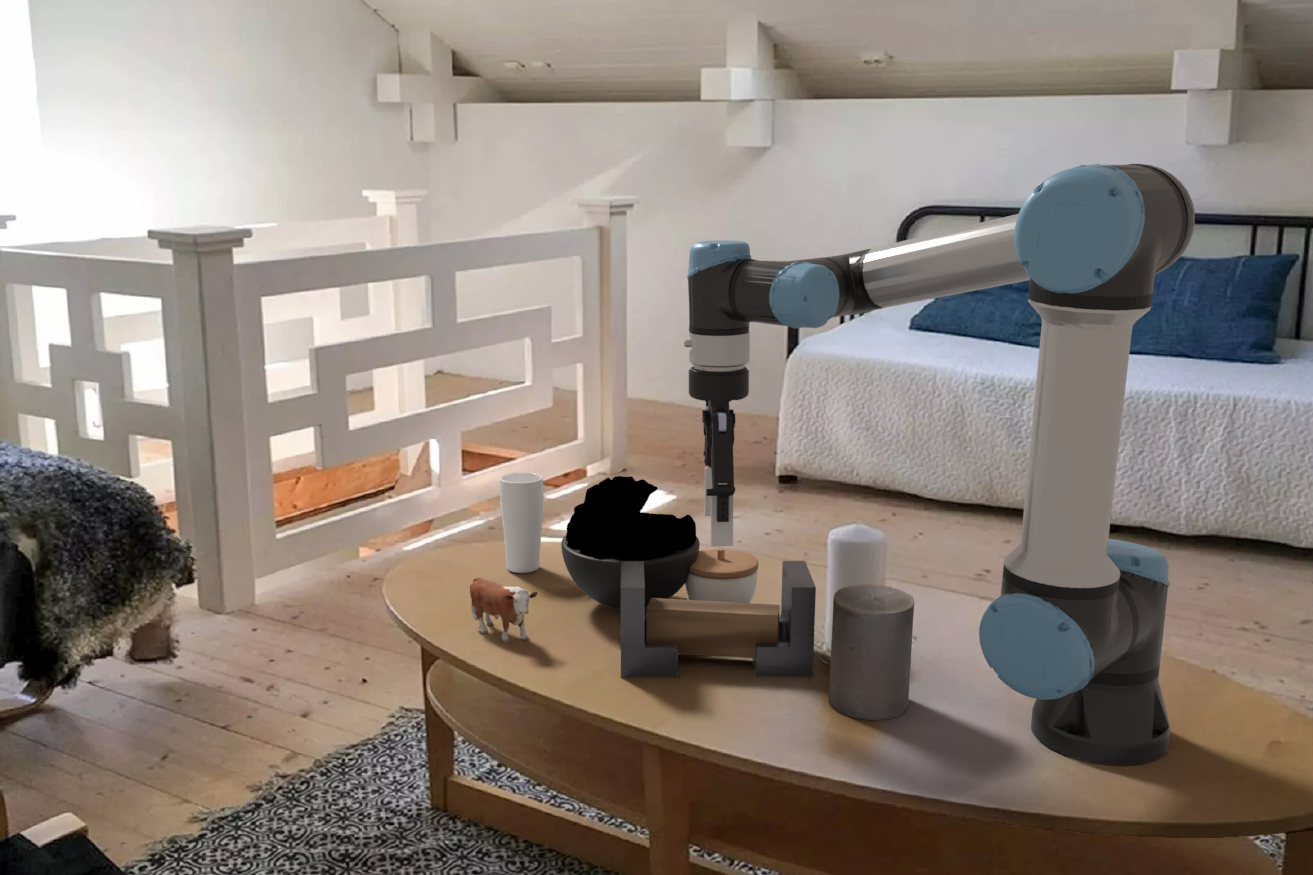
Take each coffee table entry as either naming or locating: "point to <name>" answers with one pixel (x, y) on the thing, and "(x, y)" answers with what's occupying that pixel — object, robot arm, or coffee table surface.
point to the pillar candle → (871, 651)
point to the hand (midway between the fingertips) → (718, 530)
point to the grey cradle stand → (769, 657)
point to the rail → (712, 626)
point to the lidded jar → (722, 576)
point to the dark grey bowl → (627, 542)
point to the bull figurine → (499, 605)
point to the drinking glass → (522, 520)
